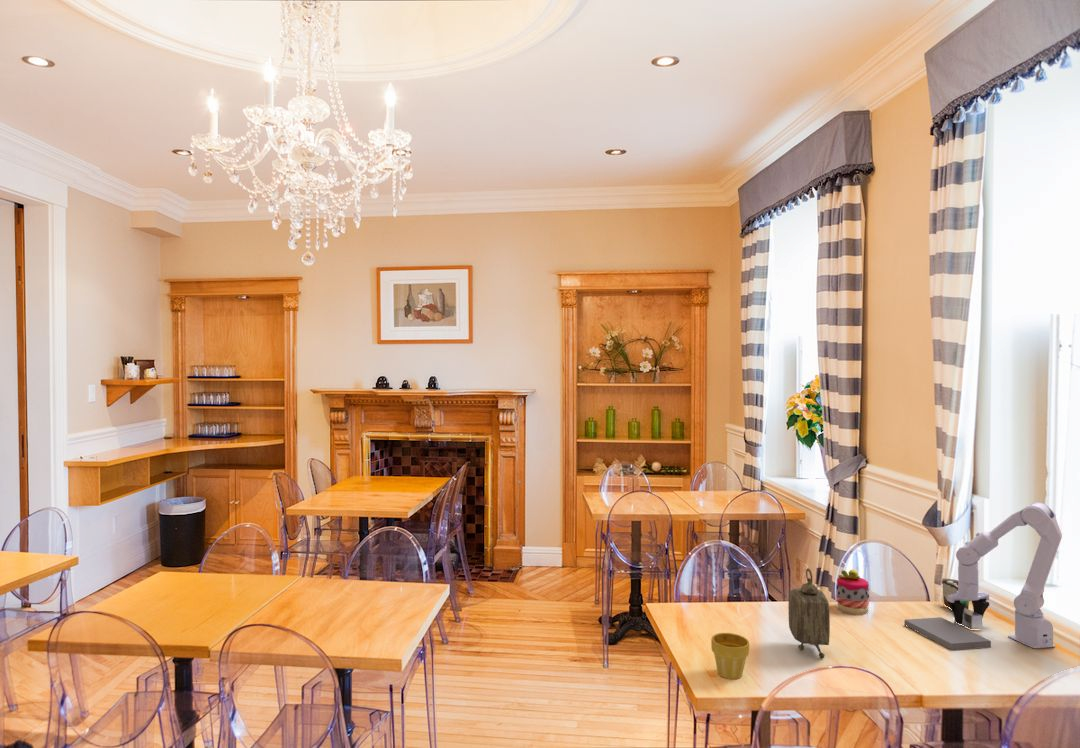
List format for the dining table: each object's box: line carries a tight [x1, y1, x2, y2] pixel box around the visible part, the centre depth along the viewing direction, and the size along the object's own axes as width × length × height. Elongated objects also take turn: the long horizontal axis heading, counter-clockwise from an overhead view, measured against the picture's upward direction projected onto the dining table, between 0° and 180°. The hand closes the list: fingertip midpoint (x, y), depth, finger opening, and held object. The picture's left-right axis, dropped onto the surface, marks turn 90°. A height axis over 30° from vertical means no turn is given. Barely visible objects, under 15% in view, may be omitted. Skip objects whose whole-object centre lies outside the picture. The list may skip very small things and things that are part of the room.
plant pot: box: [710, 632, 750, 680], centre depth 182 cm, size 10×10×10 cm
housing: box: [962, 608, 983, 630], centre depth 218 cm, size 8×4×5 cm, turn 10°
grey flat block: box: [904, 616, 992, 651], centre depth 209 cm, size 20×14×2 cm
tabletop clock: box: [787, 567, 831, 659], centre depth 198 cm, size 14×9×25 cm, turn 170°
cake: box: [836, 569, 870, 616], centre depth 232 cm, size 10×11×15 cm
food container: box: [941, 577, 970, 609], centre depth 232 cm, size 12×6×10 cm, turn 179°
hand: (968, 622), depth 217 cm, fingers open, 7 cm apart
